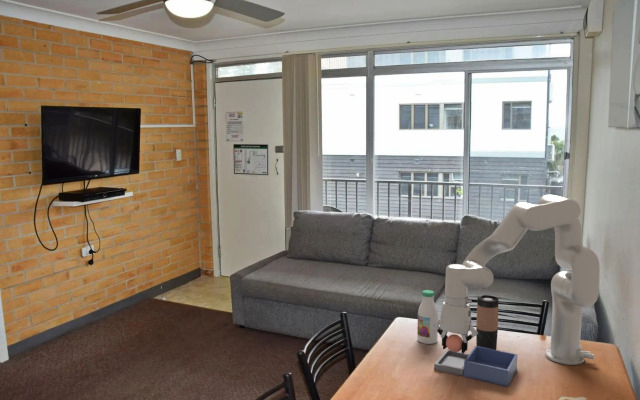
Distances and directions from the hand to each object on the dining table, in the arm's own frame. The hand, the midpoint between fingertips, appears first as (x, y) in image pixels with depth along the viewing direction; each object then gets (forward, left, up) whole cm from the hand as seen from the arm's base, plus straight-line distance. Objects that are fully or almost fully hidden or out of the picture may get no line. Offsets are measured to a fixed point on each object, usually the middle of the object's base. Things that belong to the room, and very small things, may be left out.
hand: (454, 349), depth 181 cm
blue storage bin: (-13, 0, -6) cm, 14 cm away
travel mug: (-7, -19, -6) cm, 21 cm away
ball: (0, 0, +2) cm, 2 cm away
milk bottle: (+15, -16, -6) cm, 23 cm away
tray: (0, 0, -6) cm, 6 cm away
